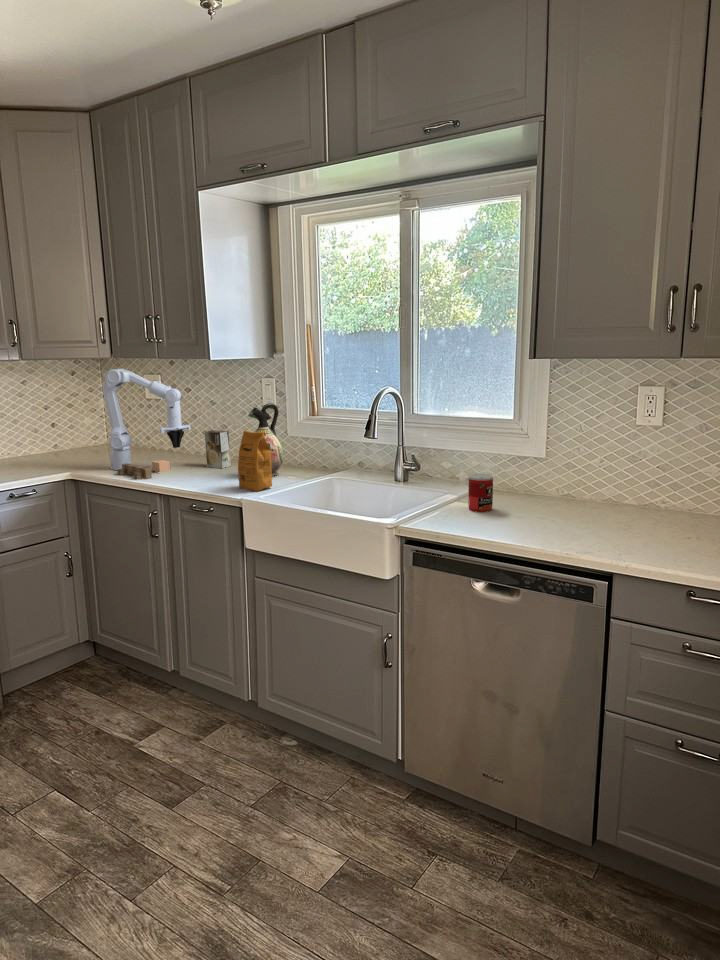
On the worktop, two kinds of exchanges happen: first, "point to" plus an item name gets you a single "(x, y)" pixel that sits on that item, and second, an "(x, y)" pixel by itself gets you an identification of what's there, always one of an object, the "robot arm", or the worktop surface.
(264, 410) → the ceramic jug
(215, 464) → the coffee box
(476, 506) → the canned food
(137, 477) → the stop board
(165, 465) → the terracotta block
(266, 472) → the coffee package
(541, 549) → the worktop surface
